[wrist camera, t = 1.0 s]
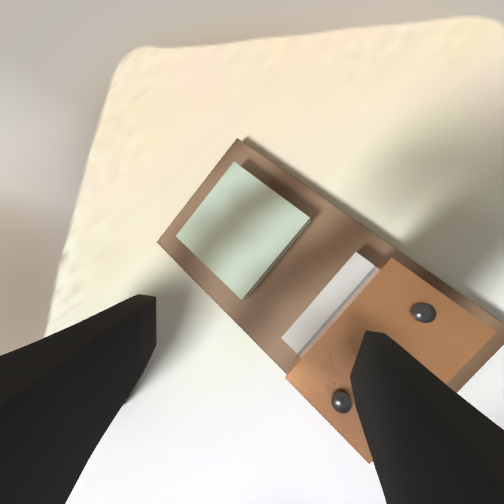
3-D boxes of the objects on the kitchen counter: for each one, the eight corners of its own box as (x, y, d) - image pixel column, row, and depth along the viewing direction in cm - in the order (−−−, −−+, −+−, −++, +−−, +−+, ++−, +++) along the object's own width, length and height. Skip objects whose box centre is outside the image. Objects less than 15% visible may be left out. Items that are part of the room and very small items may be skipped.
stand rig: (506, 329, 16) (530, 335, 14) (379, 461, 17) (384, 483, 15) (240, 142, 24) (232, 130, 22) (161, 243, 25) (147, 239, 23)
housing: (445, 318, 16) (500, 333, 11) (357, 412, 16) (370, 468, 11) (374, 265, 17) (393, 256, 12) (297, 353, 18) (284, 379, 13)
